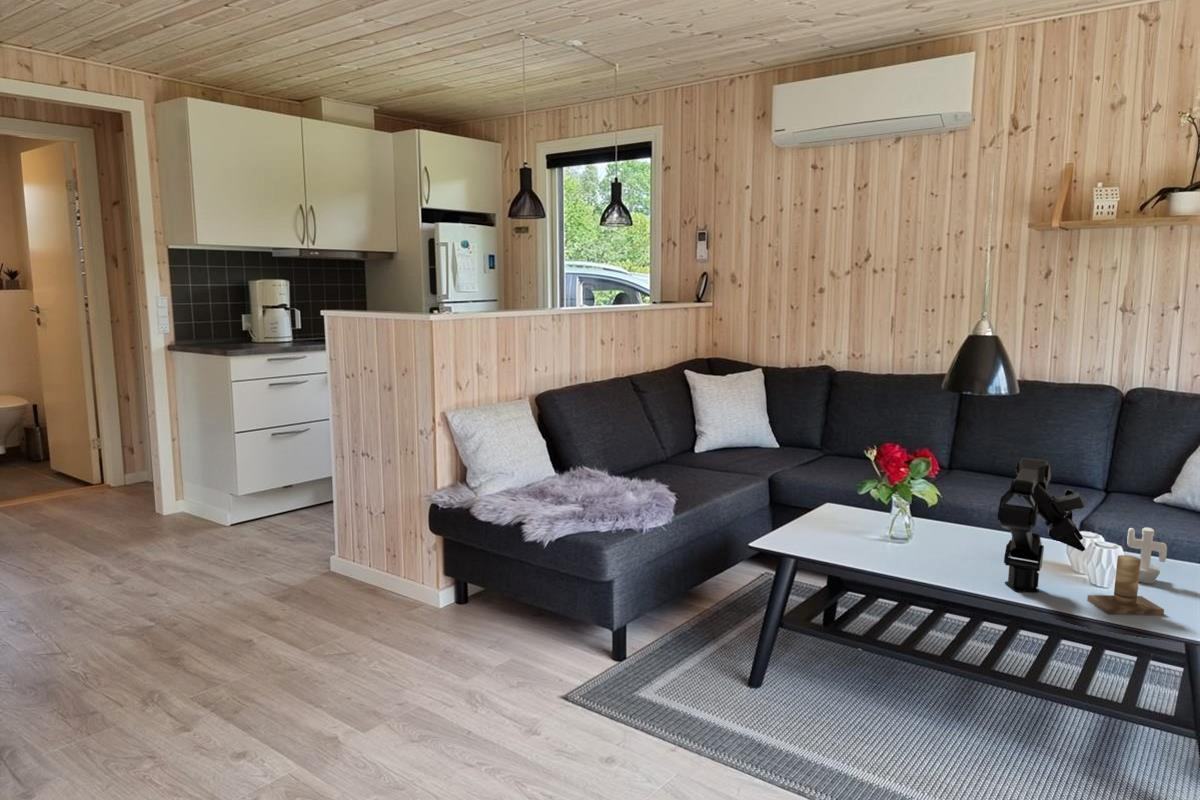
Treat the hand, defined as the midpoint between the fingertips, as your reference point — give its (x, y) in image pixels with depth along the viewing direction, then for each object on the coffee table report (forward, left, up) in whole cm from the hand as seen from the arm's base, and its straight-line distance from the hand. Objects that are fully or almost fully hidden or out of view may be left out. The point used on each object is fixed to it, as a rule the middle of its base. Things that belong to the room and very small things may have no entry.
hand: (1082, 544), depth 221 cm
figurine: (+23, +9, -13) cm, 28 cm away
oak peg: (+5, -12, -13) cm, 18 cm away
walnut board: (+5, -12, -13) cm, 18 cm away
